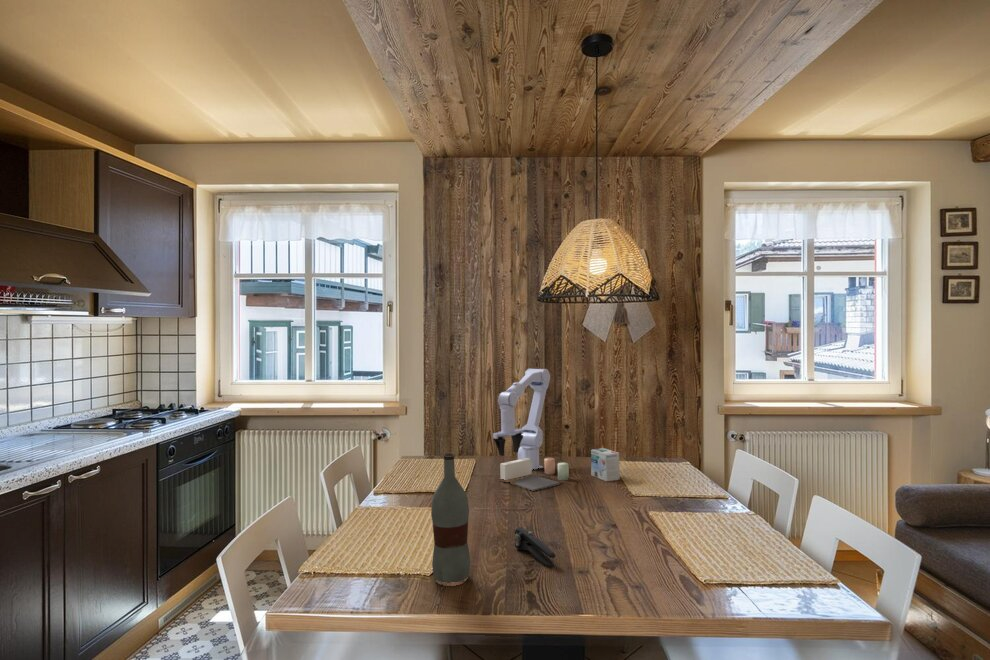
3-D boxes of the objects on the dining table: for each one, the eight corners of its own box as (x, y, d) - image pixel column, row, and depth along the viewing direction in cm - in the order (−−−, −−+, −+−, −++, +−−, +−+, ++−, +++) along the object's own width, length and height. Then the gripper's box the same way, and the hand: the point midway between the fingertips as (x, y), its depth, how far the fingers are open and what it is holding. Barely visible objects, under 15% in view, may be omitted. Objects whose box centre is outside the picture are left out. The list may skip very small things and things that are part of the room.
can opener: (508, 546, 145) (508, 526, 145) (530, 541, 148) (530, 521, 148) (540, 572, 129) (540, 549, 129) (564, 566, 132) (563, 543, 132)
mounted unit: (498, 480, 209) (498, 463, 209) (526, 474, 218) (526, 457, 218) (505, 483, 206) (504, 465, 206) (533, 476, 215) (532, 459, 215)
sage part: (555, 478, 211) (555, 463, 211) (563, 476, 213) (562, 462, 214) (563, 480, 207) (563, 465, 207) (571, 478, 210) (570, 464, 210)
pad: (509, 483, 205) (509, 481, 205) (535, 477, 213) (535, 475, 213) (532, 491, 194) (532, 489, 194) (559, 484, 202) (559, 482, 202)
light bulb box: (590, 475, 214) (590, 449, 215) (604, 473, 217) (603, 447, 217) (606, 481, 205) (606, 454, 205) (620, 479, 208) (619, 452, 208)
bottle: (451, 566, 132) (449, 448, 132) (478, 576, 126) (475, 453, 127) (424, 580, 125) (421, 455, 125) (451, 592, 119) (448, 461, 119)
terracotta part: (542, 473, 220) (542, 458, 220) (549, 471, 223) (549, 457, 223) (549, 475, 216) (549, 460, 216) (557, 473, 219) (556, 458, 219)
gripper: (500, 424, 208) (501, 458, 208) (527, 420, 217) (528, 452, 217) (489, 422, 214) (490, 455, 214) (516, 418, 223) (517, 449, 223)
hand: (508, 453), depth 216 cm, fingers open, 7 cm apart
